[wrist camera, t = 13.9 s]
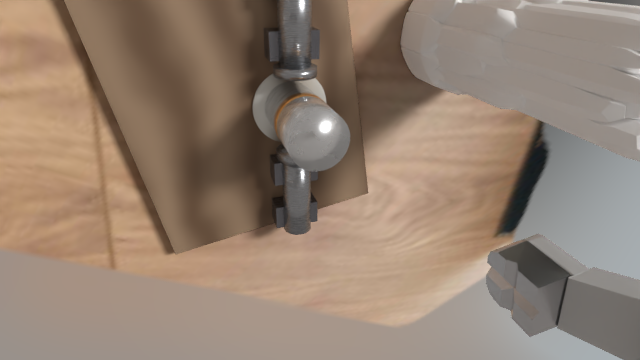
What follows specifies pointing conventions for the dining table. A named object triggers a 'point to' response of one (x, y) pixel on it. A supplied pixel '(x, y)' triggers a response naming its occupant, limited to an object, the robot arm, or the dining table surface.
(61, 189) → the dining table surface
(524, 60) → the decorative vase
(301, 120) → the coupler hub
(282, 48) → the near steel shaft
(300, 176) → the far steel shaft
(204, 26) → the walnut base board
